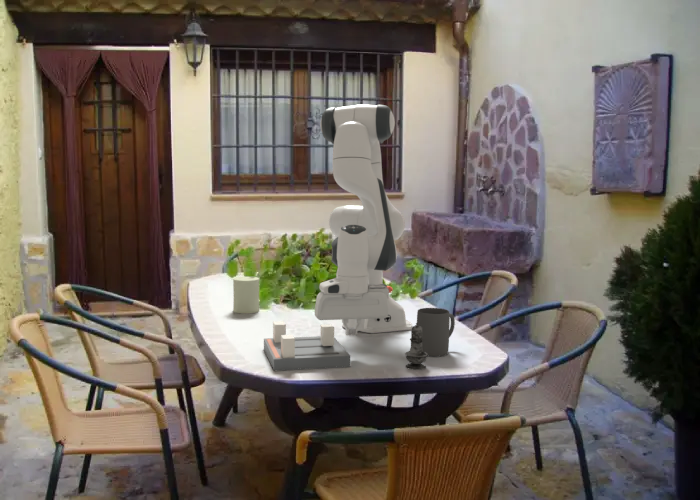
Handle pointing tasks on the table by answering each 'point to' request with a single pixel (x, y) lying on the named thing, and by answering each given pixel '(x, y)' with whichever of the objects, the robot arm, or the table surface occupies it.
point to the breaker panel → (302, 351)
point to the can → (246, 295)
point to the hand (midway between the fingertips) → (351, 334)
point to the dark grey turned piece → (416, 349)
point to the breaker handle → (327, 335)
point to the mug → (435, 330)
